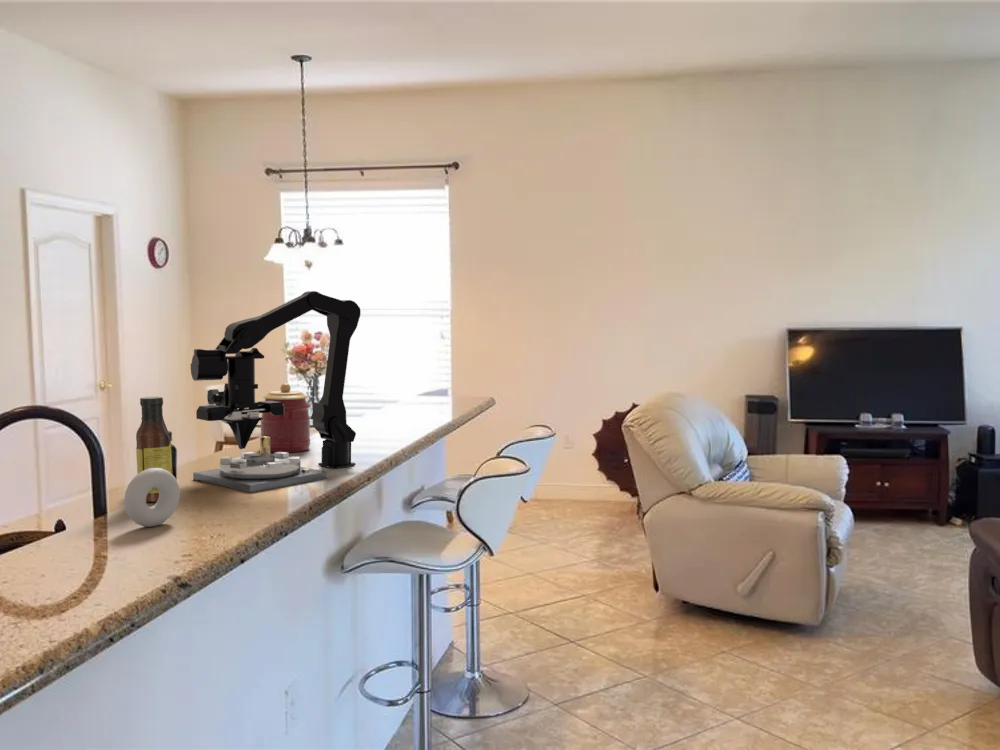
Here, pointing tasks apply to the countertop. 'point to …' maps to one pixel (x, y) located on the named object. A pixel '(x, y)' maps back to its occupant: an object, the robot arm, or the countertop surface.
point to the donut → (139, 491)
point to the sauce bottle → (153, 441)
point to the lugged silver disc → (260, 464)
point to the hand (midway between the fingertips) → (241, 449)
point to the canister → (287, 421)
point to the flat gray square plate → (259, 480)
